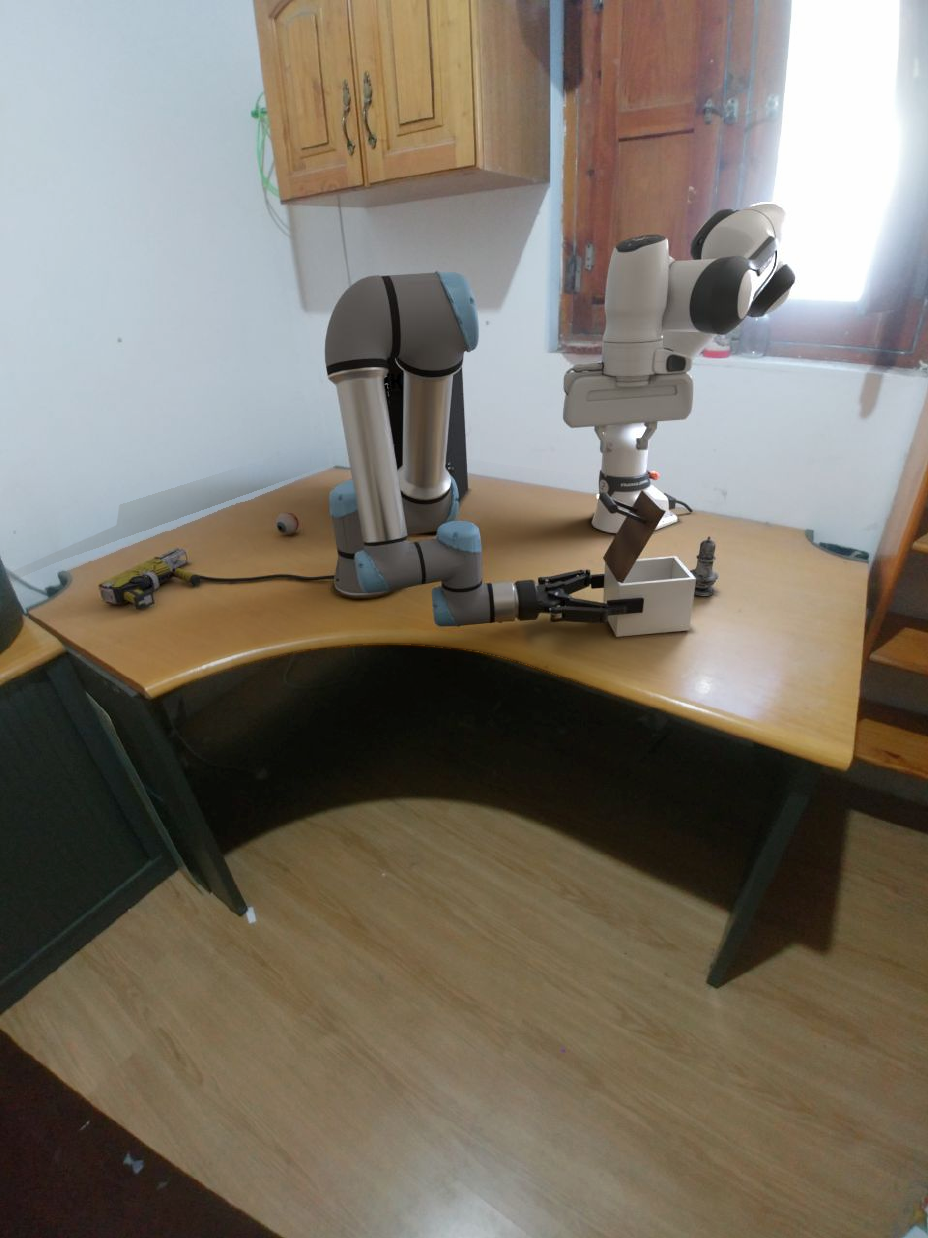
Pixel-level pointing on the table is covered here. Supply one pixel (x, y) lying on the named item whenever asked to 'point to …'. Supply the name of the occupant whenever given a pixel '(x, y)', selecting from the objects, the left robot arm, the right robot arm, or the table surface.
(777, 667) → the table surface
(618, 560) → the lid
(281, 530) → the eyeball
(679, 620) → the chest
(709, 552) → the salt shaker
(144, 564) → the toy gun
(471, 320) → the left robot arm
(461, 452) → the cardboard box
